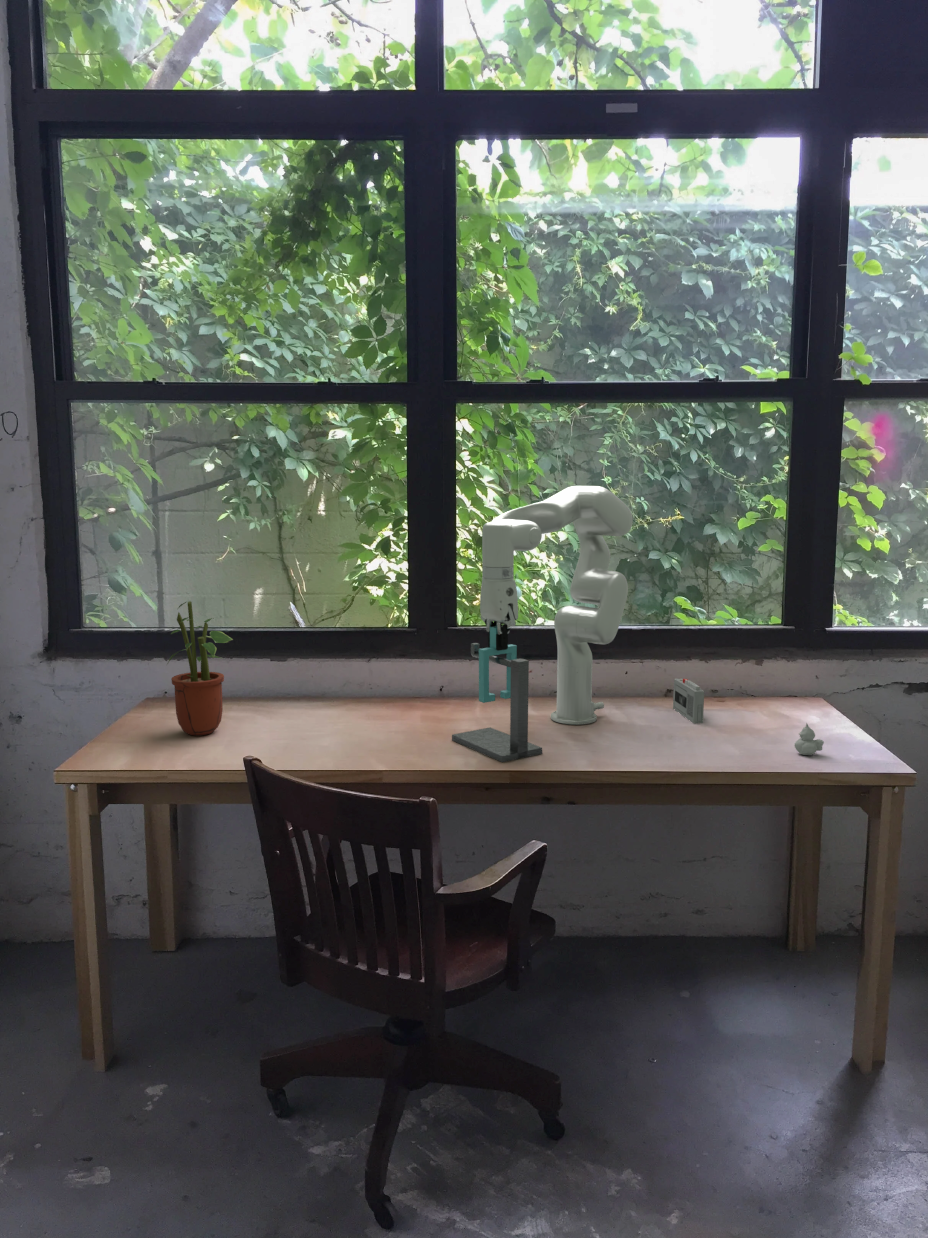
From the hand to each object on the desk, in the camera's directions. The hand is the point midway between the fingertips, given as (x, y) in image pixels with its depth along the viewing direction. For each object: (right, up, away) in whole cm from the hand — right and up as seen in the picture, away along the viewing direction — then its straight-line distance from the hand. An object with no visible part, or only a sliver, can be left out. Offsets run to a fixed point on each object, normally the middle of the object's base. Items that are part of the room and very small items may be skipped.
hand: (497, 648), depth 220 cm
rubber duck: (+75, -26, -2) cm, 79 cm away
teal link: (0, -13, +2) cm, 13 cm away
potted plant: (-78, -22, +18) cm, 83 cm away
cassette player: (+54, -20, +33) cm, 67 cm away
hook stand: (0, -25, +4) cm, 25 cm away
